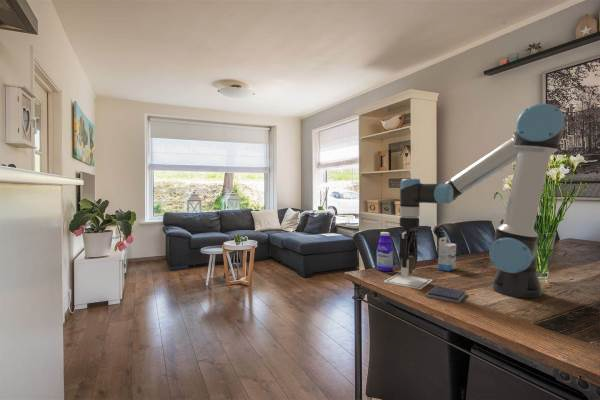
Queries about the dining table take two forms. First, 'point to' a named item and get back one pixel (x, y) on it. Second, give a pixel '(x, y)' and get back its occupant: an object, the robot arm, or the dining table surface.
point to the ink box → (446, 255)
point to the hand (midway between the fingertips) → (408, 273)
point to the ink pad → (446, 294)
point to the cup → (411, 262)
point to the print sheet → (408, 281)
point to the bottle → (385, 253)
